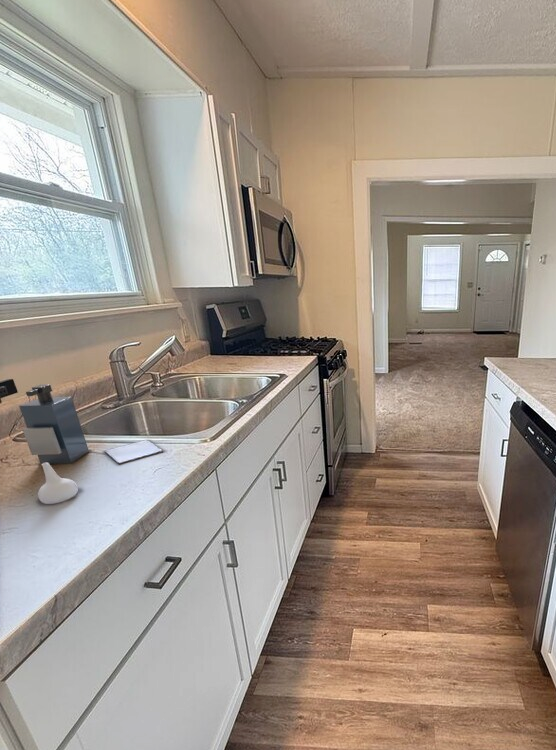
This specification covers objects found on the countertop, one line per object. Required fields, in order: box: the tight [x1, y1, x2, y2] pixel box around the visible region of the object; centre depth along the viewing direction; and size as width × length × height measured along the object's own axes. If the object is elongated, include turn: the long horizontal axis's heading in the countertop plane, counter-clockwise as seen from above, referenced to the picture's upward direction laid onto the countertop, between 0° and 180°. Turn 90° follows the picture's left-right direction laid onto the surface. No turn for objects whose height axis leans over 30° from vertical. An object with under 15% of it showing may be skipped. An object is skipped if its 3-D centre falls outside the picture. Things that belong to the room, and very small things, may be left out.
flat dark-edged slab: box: [104, 439, 164, 465], centre depth 102 cm, size 11×10×1 cm
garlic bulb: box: [37, 462, 79, 505], centre depth 80 cm, size 6×6×8 cm
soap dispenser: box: [18, 384, 90, 464], centre depth 95 cm, size 8×7×19 cm
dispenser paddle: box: [21, 427, 61, 456], centre depth 92 cm, size 1×6×6 cm, turn 93°
